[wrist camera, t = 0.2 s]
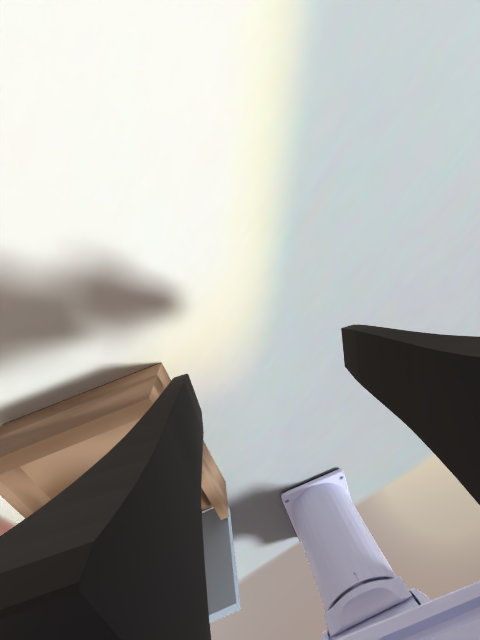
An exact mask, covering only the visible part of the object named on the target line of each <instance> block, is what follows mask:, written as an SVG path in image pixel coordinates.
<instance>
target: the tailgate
mask: <svg viewBox="0 0 480 640" xmlns="http://www.w3.org/2000/svg"><path fill="white" fill-rule="evenodd" d="M228 512H229V517H227V518H225V519H223V520H221V519H220V517H219V516H218V514H217V512H216V511H215V509H212V510H209V511H207V512H205V513H202V525H203V542H204V558H205V573H206V585H207V598H208V611H209V623H212V622H214V621H216V620H218V619H221V618H223V617H225V616H227V615H229V614H232V613H234V612H236V611H238V610H241V606H240V598H239V588H238V579H237V570H236V561H235V552H234V543H233V534H232V525H231V516H230V509H229V507H228Z"/></svg>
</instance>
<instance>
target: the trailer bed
mask: <svg viewBox="0 0 480 640" xmlns="http://www.w3.org/2000/svg"><path fill="white" fill-rule="evenodd" d="M170 382H171V380H170V378H169V376H168V374H167V372H166V370H165V368H164V367H163V365H162V363H159V364H156V365H154V366H151V367H149V368H146V369H144V370H141V371H138V372H136V373H133V374H131V375H128V376H126V377H123V378H121V379H118V380H115V381H113V382H110V383H108V384H105V385H103V386H100V387H98V388H95V389H92V390H90V391H87V392H85V393H82V394H80V395H77V396H74V397H72V398H69V399H67V400H64V401H62V402H59V403H57V404H54V405H51V406H49V407H46V408H44V409H41V410H39V411H36V412H33V413H31V414H28V415H26V416H23V417H21V418H18V419H16V420H13V421H10V422H8V423H5V424H3V425H2V426H1V427H0V495H1V496H2V497H3V498H4V499H5V500H6V501H7V502H8V503H9V504H10V505H12V506H13V507H14V508H15V509H16V510H17V511H18V512H19V513H20V514H21V515H22V516H23V517H24V518H25V519H26V518H27V517H29V516H30V515H31V514H33V513H34V512H36V511H37V510H38V509H40V508H41V507H42V506H43V505H45V504H46V503H47V502H49V501H50V500H51V499H53V498H54V497H55V496H57V495H58V494H59V493H61V492H62V491H63V490H64V489H66V488H67V487H68V486H69V485H71V484H72V483H73V482H74V481H76V480H77V479H78V478H79V477H80V476H82V475H83V474H84V473H85V472H86V471H87V470H88V469H90V468H91V467H92V466H93V465H94V464H95V463H97V462H98V461H99V460H100V459H101V458H102V457H103V456H105V455H106V454H107V453H108V452H109V451H110V450H111V449H112V448H113V447H114V446H115V445H116V444H117V443H118V442H119V441H120V440H121V439H122V438H123V437H124V436H125V435H126V434H127V433H128V432H129V431H130V430H131V429H132V428H133V427H134V426H135V425H136V423H137V422H138V421H139V420H140V419H141V418H142V416H143V415H144V414H145V413H146V412H147V411H148V410H149V408H150V407H151V406H152V405H153V403H154V402H155V401H156V400H157V398H158V397H159V396H160V395H161V393H162V392H163V391H164V389H165V388H166V387H167V386H168V384H169V383H170ZM201 506H202V511H204V510H206V509H209V508H211V507H214V509H215V511H216V512H217V514H218V516H219V517H220V519H221V520H223V519H225V518H227V517H229V512H228V503H227V493H226V484H225V480H224V478H223V477H222V475H221V473H220V471H219V469H218V467H217V465H216V464H215V462H214V460H213V458H212V456H211V454H210V452H209V450H208V449H207V447H206V445H205V443H204V441H203V457H202V482H201Z"/></svg>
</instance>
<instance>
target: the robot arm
mask: <svg viewBox="0 0 480 640" xmlns="http://www.w3.org/2000/svg"><path fill="white" fill-rule="evenodd" d="M341 330H342V341H343V351H344V361H345V367H346V368H347V370H348V371H349V372H350V373H351V374H352V376H353V377H354V378H355V379H356V380H357V381H358V382H359V383H360V384H361V385H362V386H363V387H364V388H365V389H366V390H368V391H369V392H370V393H371V394H372V395H373V396H374V397H375V398H377V399H378V400H379V401H380V402H381V403H382V404H384V405H385V406H386V407H387V408H388V409H389V410H390V411H392V412H393V413H394V414H395V415H396V416H397V417H399V418H400V419H401V420H402V421H403V422H404V423H405V424H406V425H407V426H408V427H409V428H410V429H412V431H413V432H414V433H415V434H416V435H417V436H418V437H419V438H420V439H421V440H422V441H423V442H424V443H425V444H426V445H427V446H428V447H429V448H430V449H431V450H432V451H433V453H434V454H435V455H436V456H437V457H438V458H439V459H440V460H441V461H442V462H443V464H444V465H445V466H446V467H447V468H448V469H449V470H450V471H451V472H452V473H453V475H454V476H455V477H456V478H457V479H458V480H459V481H460V482H461V484H462V485H463V486H464V487H465V488H466V489H467V491H468V492H469V493H470V494H471V495H472V497H473V498H474V499H475V500H476V501H477V502H478V504H479V505H480V337H472V336H453V335H440V334H430V333H421V332H412V331H405V330H397V329H390V328H383V327H376V326H367V325H351V326H348V327H344V328H341ZM202 457H203V422H202V412H201V408H200V406H199V403H198V400H197V397H196V395H195V392H194V389H193V386H192V384H191V381H190V378H189V375H188V374H185V375H181V376H178V377H175V378H173V379H172V381H171V382H170V383H169V384H168V386H167V387H166V388H165V389H164V391H163V392H162V393H161V395H160V396H159V397H158V398H157V400H156V401H155V402H154V403H153V405H152V406H151V407H150V408H149V410H148V411H147V412H146V413H145V414H144V415H143V416H142V418H141V419H140V420H139V421H138V422H137V423H136V425H135V426H134V427H133V428H132V429H131V430H130V431H129V432H128V433H127V434H126V435H125V436H124V437H123V438H122V439H121V440H120V441H119V442H118V443H117V444H116V445H115V446H114V447H113V448H112V449H111V450H110V451H109V452H108V453H107V454H106V455H105V456H103V457H102V458H101V459H100V460H99V461H98V462H97V463H95V464H94V465H93V466H92V467H91V468H90V469H88V470H87V471H86V472H85V473H84V474H83V475H82V476H80V477H79V478H78V479H77V480H76V481H74V482H73V483H72V484H71V485H69V486H68V487H67V488H66V489H64V490H63V491H62V492H61V493H59V494H58V495H57V496H55V497H54V498H53V499H51V500H50V501H49V502H47V503H46V504H45V505H43V506H42V507H41V508H40V509H38V510H37V511H36V512H34V513H33V514H31V515H30V516H29V517H27V518H26V519H24V520H23V521H22V522H20V523H19V524H17V525H16V526H14V527H13V528H12V529H10V530H9V531H8V532H6V533H4V534H3V535H1V536H0V640H211V634H210V623H209V611H208V598H207V585H206V573H205V558H204V542H203V525H202V506H201V482H202ZM281 499H282V501H283V504H284V506H285V508H286V511H287V513H288V515H289V518H290V520H291V522H292V525H293V527H294V529H295V532H296V534H297V536H298V539H299V541H300V542H301V543H302V546H303V548H304V551H305V554H306V557H307V560H308V563H309V566H310V569H311V572H312V575H313V577H314V580H315V583H316V586H317V589H318V592H319V595H320V598H321V601H322V604H323V607H324V610H325V613H323V616H324V619H325V621H326V625H327V628H328V630H325V631H323V633H322V640H480V580H479V581H477V582H475V583H472V584H470V585H467V586H465V587H462V588H460V589H458V590H455V591H453V592H451V593H448V594H446V595H443V596H441V597H438V598H436V599H434V600H431V599H430V598H429V597H428V596H427V595H425V594H424V593H422V592H420V591H419V590H418V589H417V588H411V589H408V588H407V586H406V585H405V583H404V581H403V580H402V578H401V577H400V576H398V577H396V575H395V574H394V572H393V570H392V569H391V567H390V565H389V564H388V562H387V560H386V558H385V557H384V555H383V554H382V552H381V550H380V549H379V547H378V545H377V543H376V542H375V541H374V538H373V537H372V535H371V533H370V532H369V530H368V528H367V527H366V525H365V523H364V522H363V520H362V518H361V517H360V515H359V513H358V511H357V510H356V508H355V506H354V505H353V503H352V501H351V498H350V494H349V490H348V486H347V482H346V479H345V475H344V472H343V471H342V470H341V469H338V470H336V471H333V472H331V473H329V474H326V475H324V476H322V477H319V478H317V479H315V480H312V481H310V482H308V483H305V484H303V485H301V486H298V487H296V488H294V489H291V490H289V491H287V492H284V493H283V494H282V495H281Z"/></svg>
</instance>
